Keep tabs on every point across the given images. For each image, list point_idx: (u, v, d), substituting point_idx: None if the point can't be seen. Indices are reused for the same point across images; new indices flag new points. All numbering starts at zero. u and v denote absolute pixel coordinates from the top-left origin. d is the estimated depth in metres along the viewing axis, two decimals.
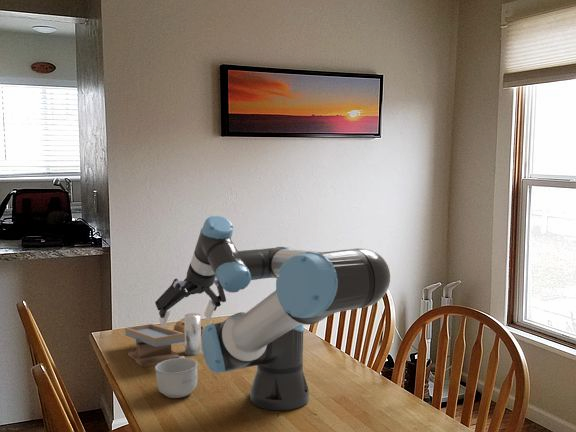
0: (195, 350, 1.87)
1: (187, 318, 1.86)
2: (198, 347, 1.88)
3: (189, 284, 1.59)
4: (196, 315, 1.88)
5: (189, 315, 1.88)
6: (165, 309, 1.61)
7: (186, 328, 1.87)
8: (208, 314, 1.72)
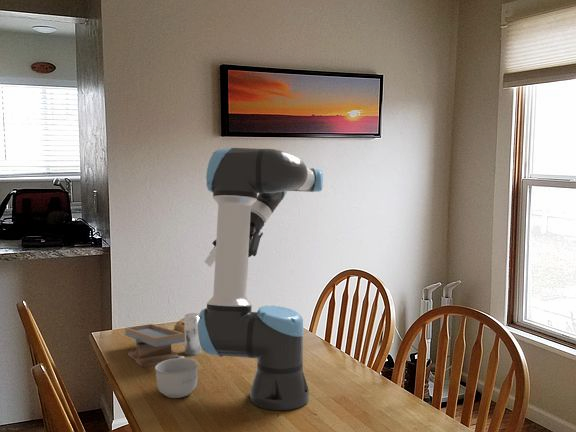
0: (195, 350, 1.87)
1: (187, 318, 1.86)
2: (198, 347, 1.88)
3: None
4: (196, 315, 1.88)
5: (189, 315, 1.88)
6: (215, 244, 2.02)
7: (186, 328, 1.87)
8: None
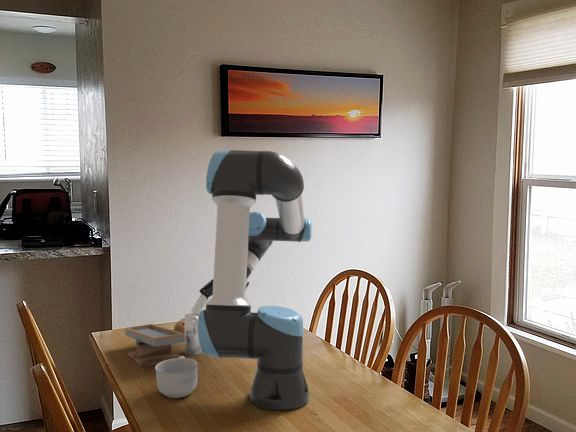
0: (195, 350, 1.87)
1: (187, 318, 1.86)
2: (198, 347, 1.88)
3: None
4: (196, 315, 1.88)
5: (189, 315, 1.88)
6: (202, 292, 2.01)
7: (186, 328, 1.87)
8: None
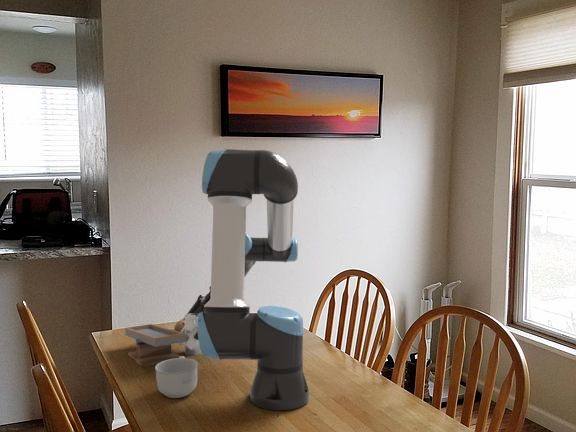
0: (194, 350, 1.87)
1: (187, 318, 1.86)
2: (198, 347, 1.88)
3: (207, 294, 1.96)
4: (196, 315, 1.88)
5: (189, 315, 1.88)
6: None
7: (186, 328, 1.87)
8: None
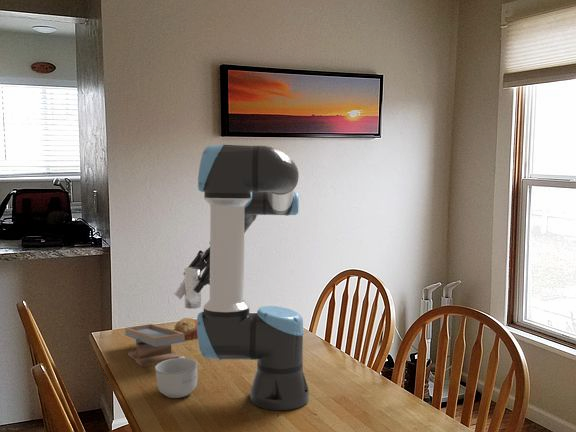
0: (195, 303, 1.86)
1: (187, 271, 1.85)
2: (198, 300, 1.86)
3: (207, 249, 1.94)
4: (196, 268, 1.87)
5: (189, 269, 1.86)
6: None
7: (186, 281, 1.85)
8: None
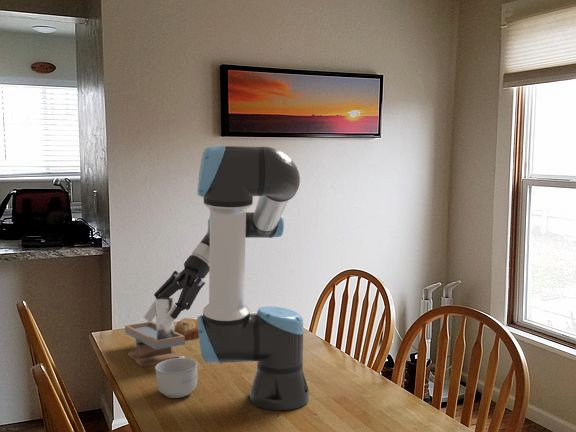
0: (167, 336, 1.74)
1: (158, 302, 1.74)
2: (171, 333, 1.75)
3: (182, 271, 1.82)
4: (168, 299, 1.76)
5: (160, 299, 1.75)
6: (157, 296, 1.80)
7: (157, 313, 1.74)
8: None
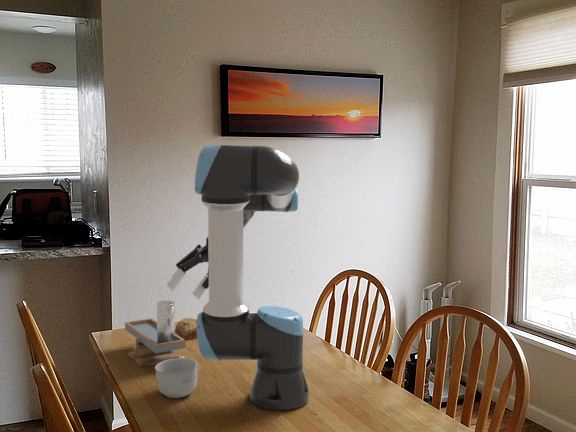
0: (167, 340, 1.74)
1: (159, 306, 1.73)
2: (171, 337, 1.74)
3: (204, 246, 1.88)
4: (169, 303, 1.75)
5: (161, 303, 1.74)
6: (179, 266, 1.88)
7: (158, 316, 1.73)
8: None
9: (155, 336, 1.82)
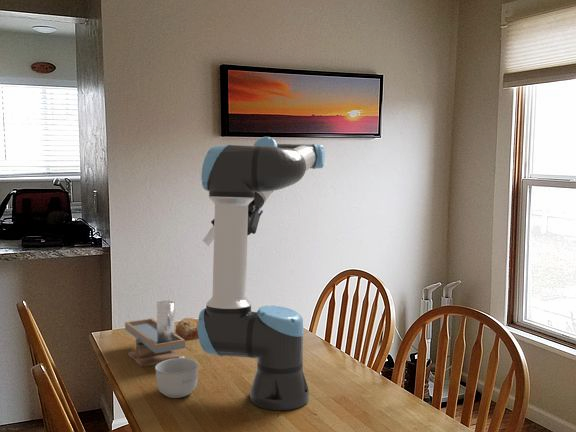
0: (167, 340, 1.74)
1: (159, 306, 1.73)
2: (171, 337, 1.74)
3: None
4: (169, 303, 1.75)
5: (161, 303, 1.74)
6: None
7: (158, 316, 1.73)
8: None
9: (155, 336, 1.82)
